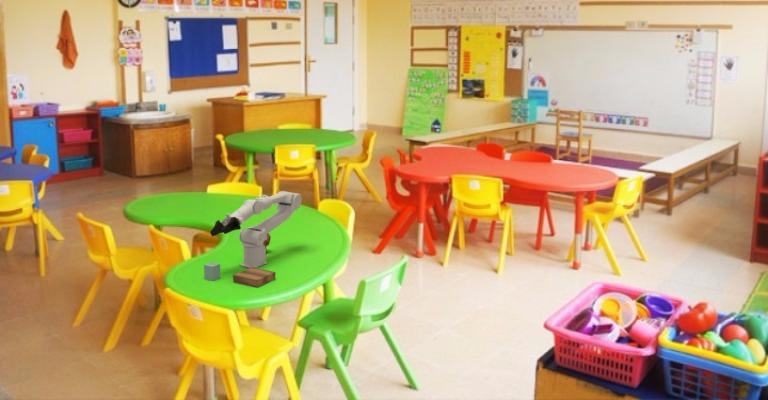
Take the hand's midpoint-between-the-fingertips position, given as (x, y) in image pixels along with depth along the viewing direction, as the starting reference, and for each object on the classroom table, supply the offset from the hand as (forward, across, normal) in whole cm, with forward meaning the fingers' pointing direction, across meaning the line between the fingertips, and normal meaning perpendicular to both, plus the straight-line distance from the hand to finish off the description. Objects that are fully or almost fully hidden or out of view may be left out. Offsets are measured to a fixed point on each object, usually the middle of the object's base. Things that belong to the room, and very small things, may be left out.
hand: (217, 233), depth 317 cm
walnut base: (-1, +6, +24) cm, 24 cm away
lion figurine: (-28, -17, +24) cm, 40 cm away
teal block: (+7, -8, +16) cm, 19 cm away
